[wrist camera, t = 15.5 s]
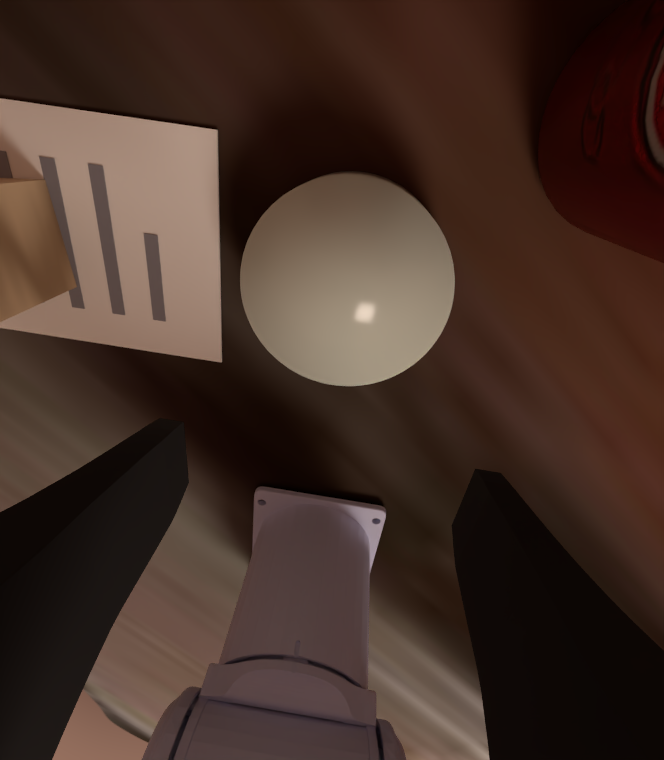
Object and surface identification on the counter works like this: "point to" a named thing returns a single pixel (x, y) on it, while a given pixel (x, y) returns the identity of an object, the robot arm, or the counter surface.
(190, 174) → the letter
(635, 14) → the soda can
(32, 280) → the maple block
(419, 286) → the puck
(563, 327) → the counter surface
